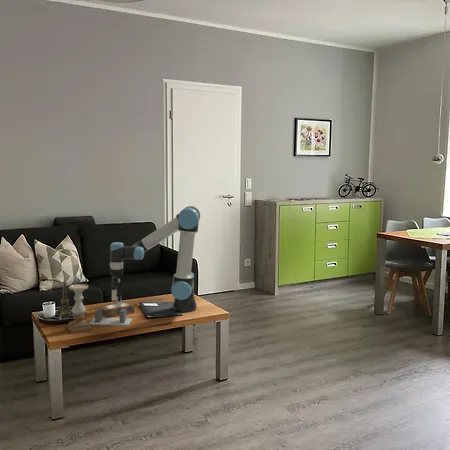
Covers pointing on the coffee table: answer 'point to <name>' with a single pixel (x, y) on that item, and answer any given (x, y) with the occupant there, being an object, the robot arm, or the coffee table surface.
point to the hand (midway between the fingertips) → (116, 303)
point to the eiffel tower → (64, 300)
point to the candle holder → (78, 311)
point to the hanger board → (110, 319)
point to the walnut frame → (116, 309)
